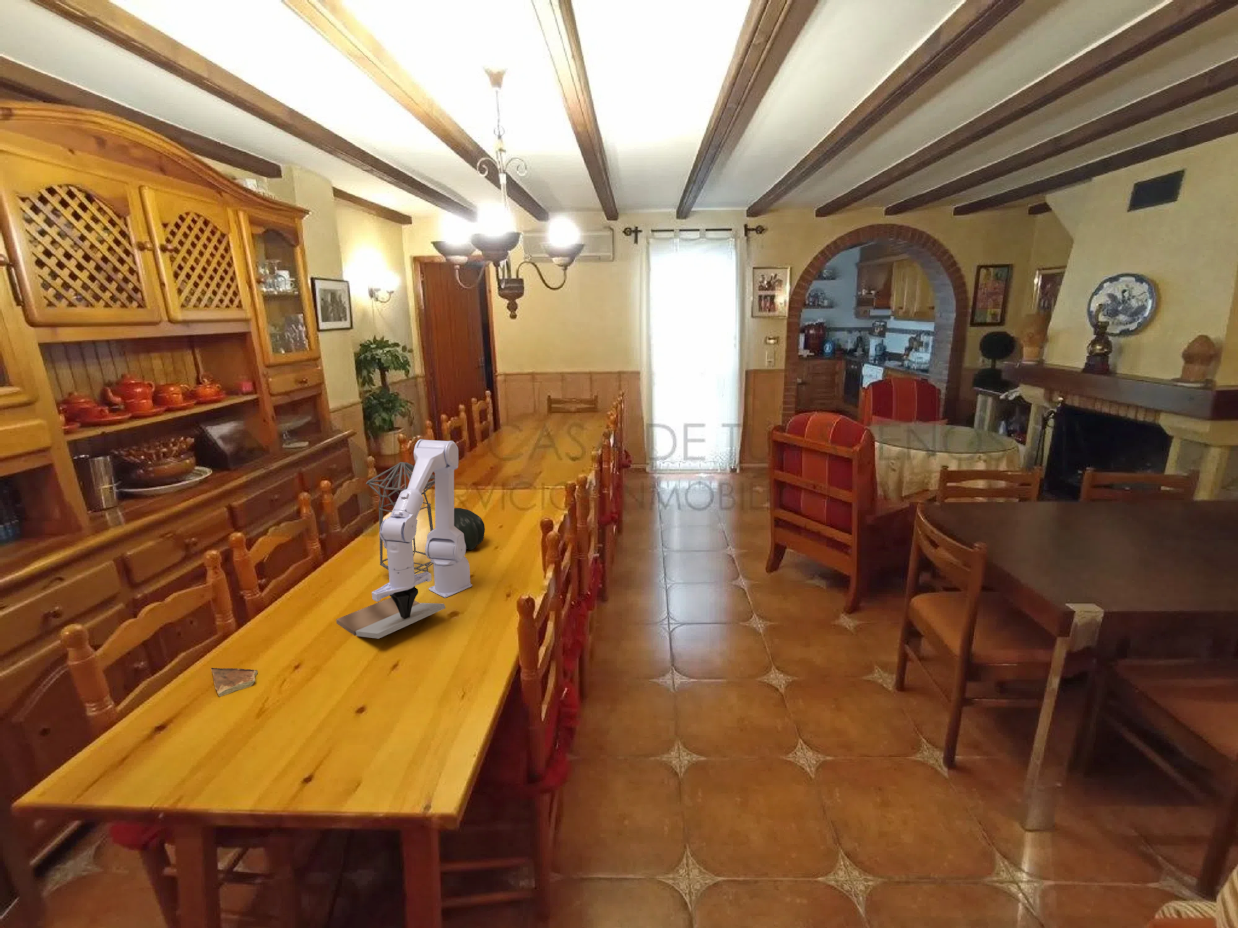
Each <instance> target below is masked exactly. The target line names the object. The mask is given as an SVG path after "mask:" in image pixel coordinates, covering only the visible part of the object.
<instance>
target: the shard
mask: <svg viewBox="0 0 1238 928" xmlns="http://www.w3.org/2000/svg"><path fill="white" fill-rule="evenodd" d="M210 670H211V673H212V676H213V684H214V689H215V691H216V692H217V695H218V697H223V696H225V695H226V696H227V695H229V694H231V693H235V692H236V691H240V690H243V689H246V688H250V687H252V686H253V685H254V684H255V682H256V676H257V675H258V670H257V669H246V668H229V667H228V668H227V667H226V668H225V667H224V668H221V667H218V668H217V667H210Z"/></svg>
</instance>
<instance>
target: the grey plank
mask: <svg viewBox="0 0 1238 928" xmlns="http://www.w3.org/2000/svg"><path fill="white" fill-rule="evenodd" d="M419 603H420V604H418V605H415V606H413V607H412V609H411V614H410V617H409V618H406V619H404V618H402V617H401V616H400V613H397V614H394V615H392V616H390V617H387V618H385V619H383V620H380V621H378V622H376V623H373V624H371V625H369V626H366V627H364V628H362V629H359V630H357V631H356V637H362V638H372V639H378V640H379V639H380V638H381V639H382V638H383V637H386V636H387V635H390V634H392V633H394V632H396V631H398V630H401V629H403V628H406V627H408V626H409V625H411V624H414V623H416V622H419V621H420V620H423V619H425V618H428V617H429V616H432V615H433V614H436V613H438V612H440V611H442V610H445V609H446V605H445V603H440V602H439V603H437V602H436V603H434V602H427V603H426V602H419Z"/></svg>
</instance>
